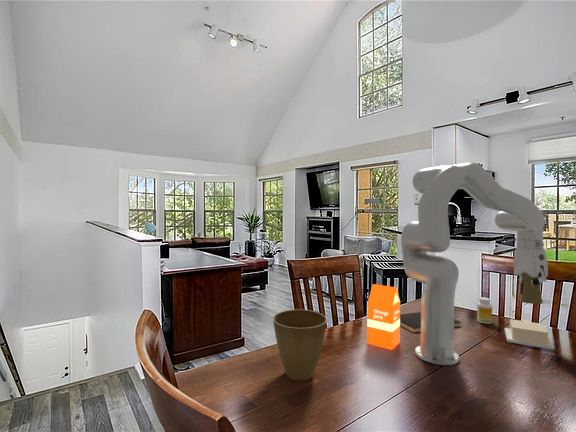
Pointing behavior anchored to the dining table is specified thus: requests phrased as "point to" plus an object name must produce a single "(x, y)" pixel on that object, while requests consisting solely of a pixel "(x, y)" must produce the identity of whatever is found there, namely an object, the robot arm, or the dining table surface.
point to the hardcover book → (416, 321)
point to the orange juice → (383, 317)
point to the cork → (530, 290)
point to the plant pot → (299, 341)
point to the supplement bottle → (484, 310)
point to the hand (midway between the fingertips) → (528, 295)
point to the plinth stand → (528, 334)
